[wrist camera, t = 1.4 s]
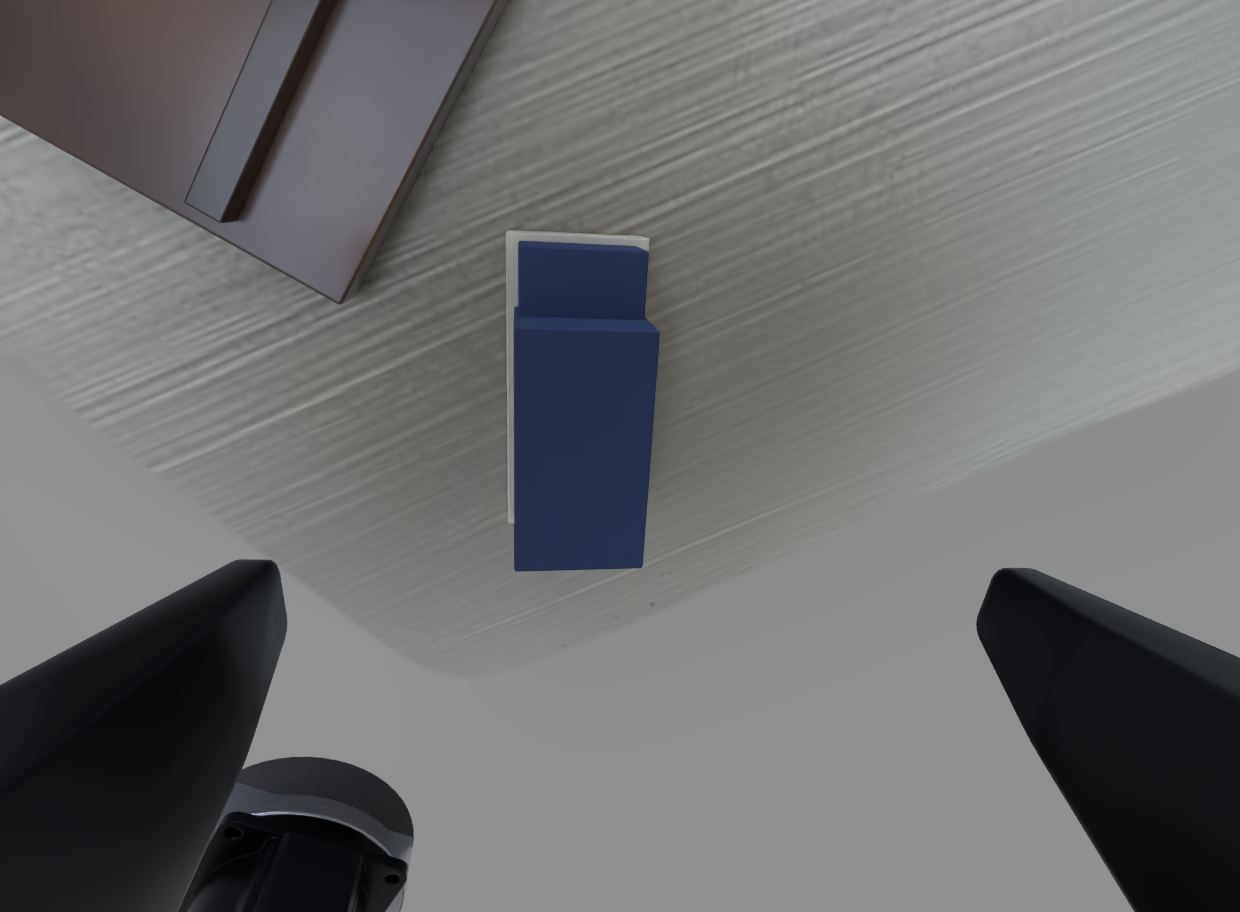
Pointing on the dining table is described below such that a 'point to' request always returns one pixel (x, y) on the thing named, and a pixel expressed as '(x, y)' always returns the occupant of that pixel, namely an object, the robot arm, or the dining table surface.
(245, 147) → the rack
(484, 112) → the dining table surface
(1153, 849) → the robot arm
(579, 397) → the stepped navy block
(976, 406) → the dining table surface
